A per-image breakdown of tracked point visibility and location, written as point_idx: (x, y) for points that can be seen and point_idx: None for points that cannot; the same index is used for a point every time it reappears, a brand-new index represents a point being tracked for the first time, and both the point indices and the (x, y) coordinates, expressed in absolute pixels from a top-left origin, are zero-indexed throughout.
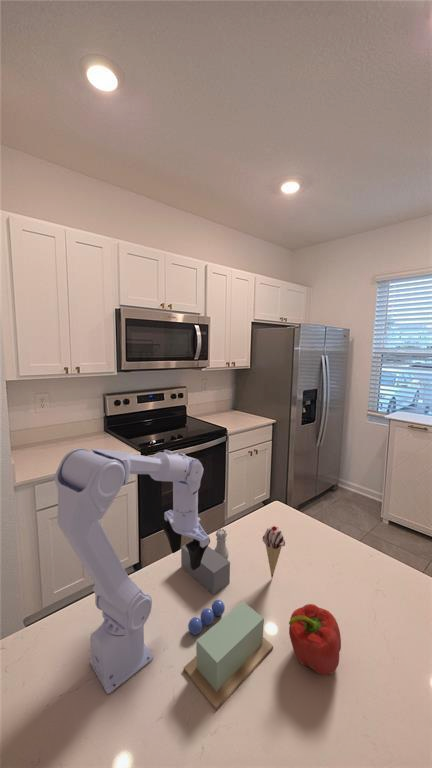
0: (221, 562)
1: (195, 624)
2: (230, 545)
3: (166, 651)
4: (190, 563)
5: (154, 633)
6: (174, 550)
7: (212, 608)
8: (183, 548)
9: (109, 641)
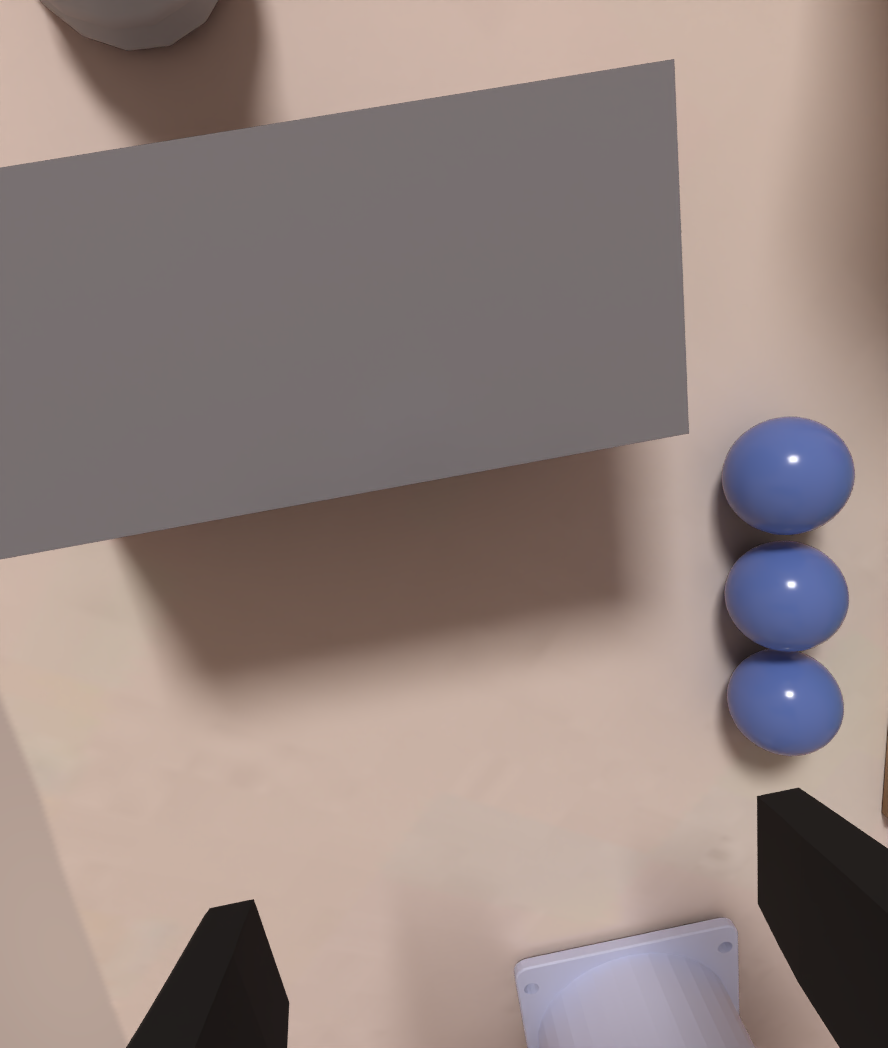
0: (593, 202)
1: (833, 737)
2: None
3: (736, 848)
4: (833, 1033)
5: (595, 869)
6: (277, 1033)
7: (775, 533)
8: None
9: None
